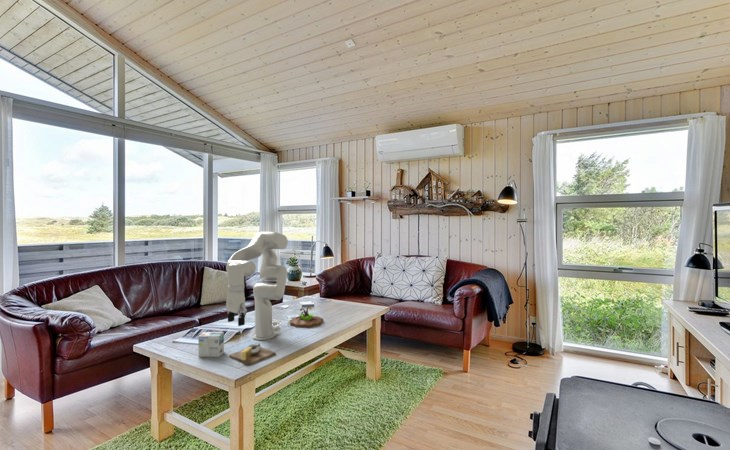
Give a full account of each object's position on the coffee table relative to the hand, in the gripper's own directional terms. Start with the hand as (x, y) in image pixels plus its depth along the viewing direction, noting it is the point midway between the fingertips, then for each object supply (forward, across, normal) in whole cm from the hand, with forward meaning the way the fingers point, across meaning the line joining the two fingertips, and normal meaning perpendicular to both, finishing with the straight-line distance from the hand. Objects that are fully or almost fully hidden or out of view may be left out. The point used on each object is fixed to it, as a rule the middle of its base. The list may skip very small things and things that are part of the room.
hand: (236, 323), depth 179 cm
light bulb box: (+18, -15, -5) cm, 24 cm away
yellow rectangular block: (+17, +3, +6) cm, 18 cm away
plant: (+19, -17, +61) cm, 66 cm away
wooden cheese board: (+18, +2, +8) cm, 20 cm away
